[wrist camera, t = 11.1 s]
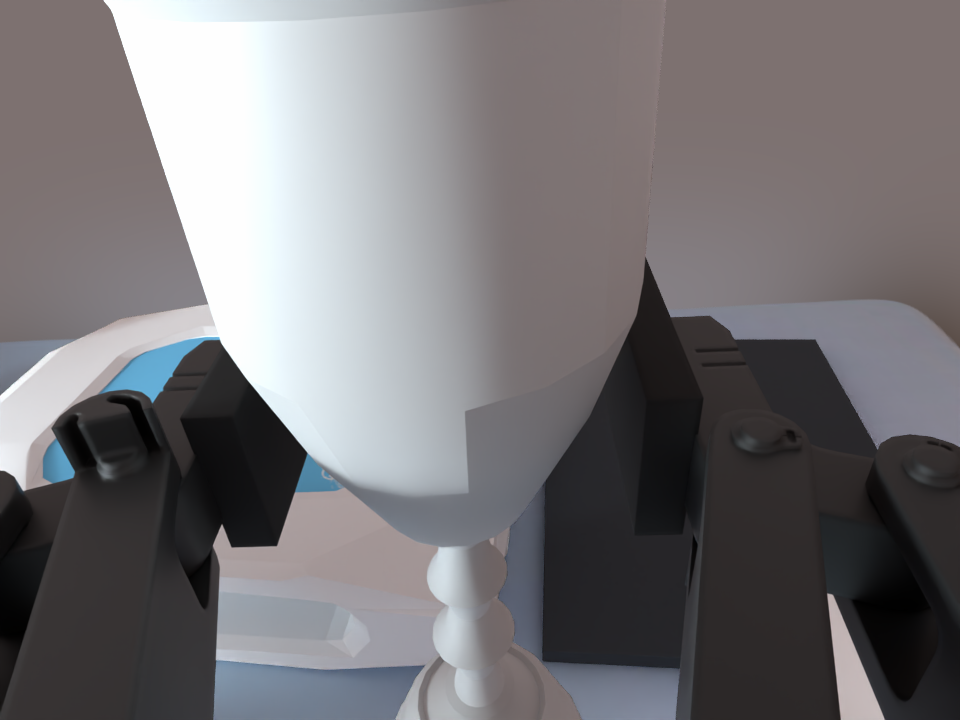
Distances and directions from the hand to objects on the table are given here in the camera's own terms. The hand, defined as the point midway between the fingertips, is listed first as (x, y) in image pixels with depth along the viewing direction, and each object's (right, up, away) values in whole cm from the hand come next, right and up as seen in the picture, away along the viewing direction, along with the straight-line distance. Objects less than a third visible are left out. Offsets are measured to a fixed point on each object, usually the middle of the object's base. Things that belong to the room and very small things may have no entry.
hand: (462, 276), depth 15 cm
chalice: (+1, -12, +2) cm, 12 cm away
